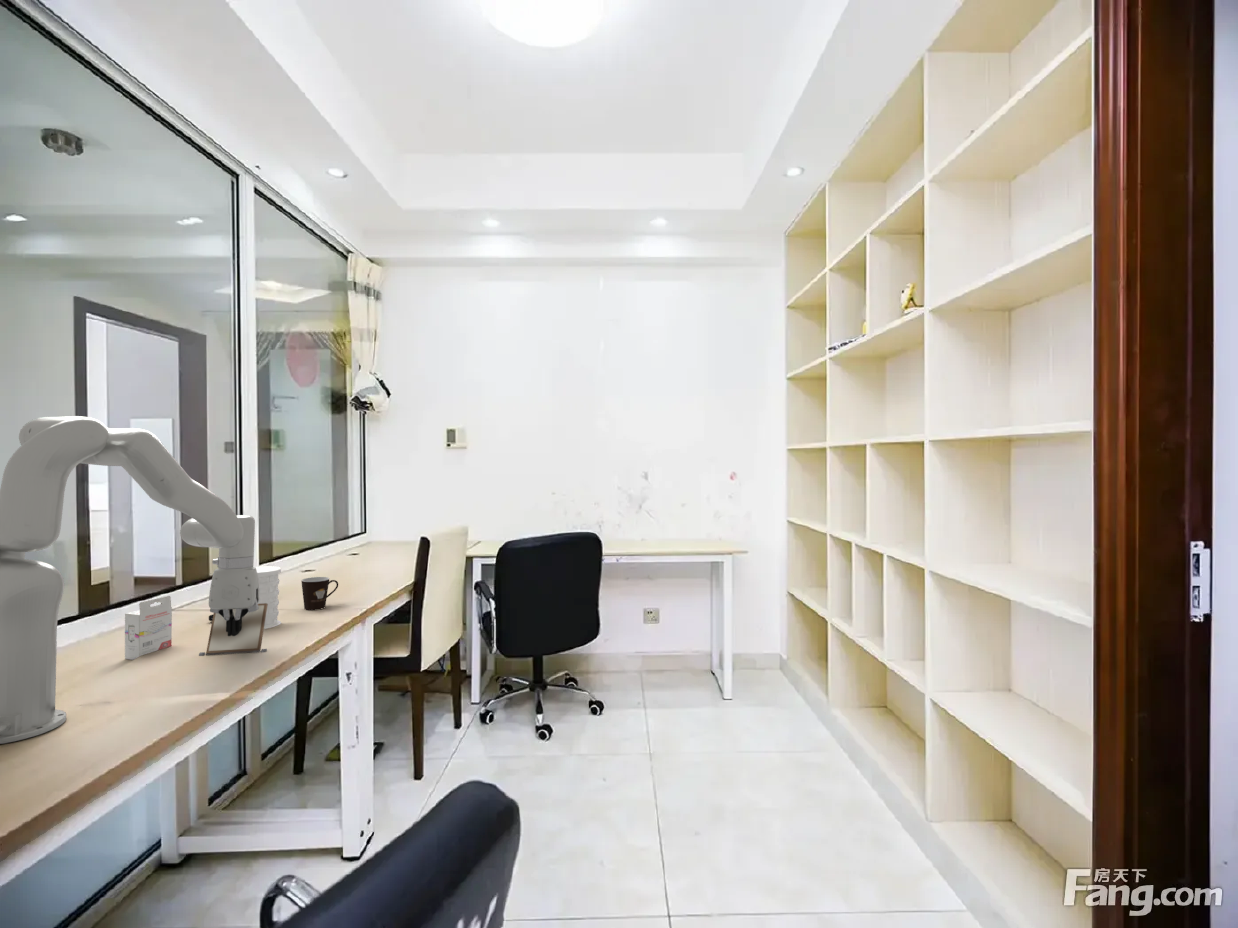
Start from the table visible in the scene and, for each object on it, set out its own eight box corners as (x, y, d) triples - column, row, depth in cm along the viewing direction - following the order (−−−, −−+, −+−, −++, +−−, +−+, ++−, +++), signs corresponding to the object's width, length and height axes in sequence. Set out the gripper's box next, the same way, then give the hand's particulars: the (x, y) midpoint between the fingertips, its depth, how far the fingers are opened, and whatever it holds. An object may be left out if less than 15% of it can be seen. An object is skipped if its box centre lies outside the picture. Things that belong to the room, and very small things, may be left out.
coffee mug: (300, 612, 190) (301, 582, 190) (300, 606, 198) (301, 578, 198) (338, 608, 196) (339, 579, 196) (337, 603, 203) (338, 575, 203)
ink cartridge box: (156, 648, 151) (158, 593, 151) (172, 650, 150) (173, 595, 150) (123, 659, 143) (124, 601, 143) (138, 660, 142) (140, 602, 142)
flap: (266, 603, 151) (267, 603, 152) (215, 605, 148) (216, 605, 149) (258, 653, 146) (259, 653, 147) (205, 656, 143) (207, 656, 144)
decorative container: (257, 636, 164) (258, 574, 164) (226, 632, 167) (227, 571, 167) (290, 625, 175) (291, 567, 175) (260, 622, 178) (261, 565, 178)
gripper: (195, 566, 140) (193, 640, 140) (263, 565, 144) (260, 637, 143) (210, 561, 148) (207, 631, 147) (273, 560, 151) (271, 629, 151)
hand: (233, 634), depth 145 cm, fingers closed
